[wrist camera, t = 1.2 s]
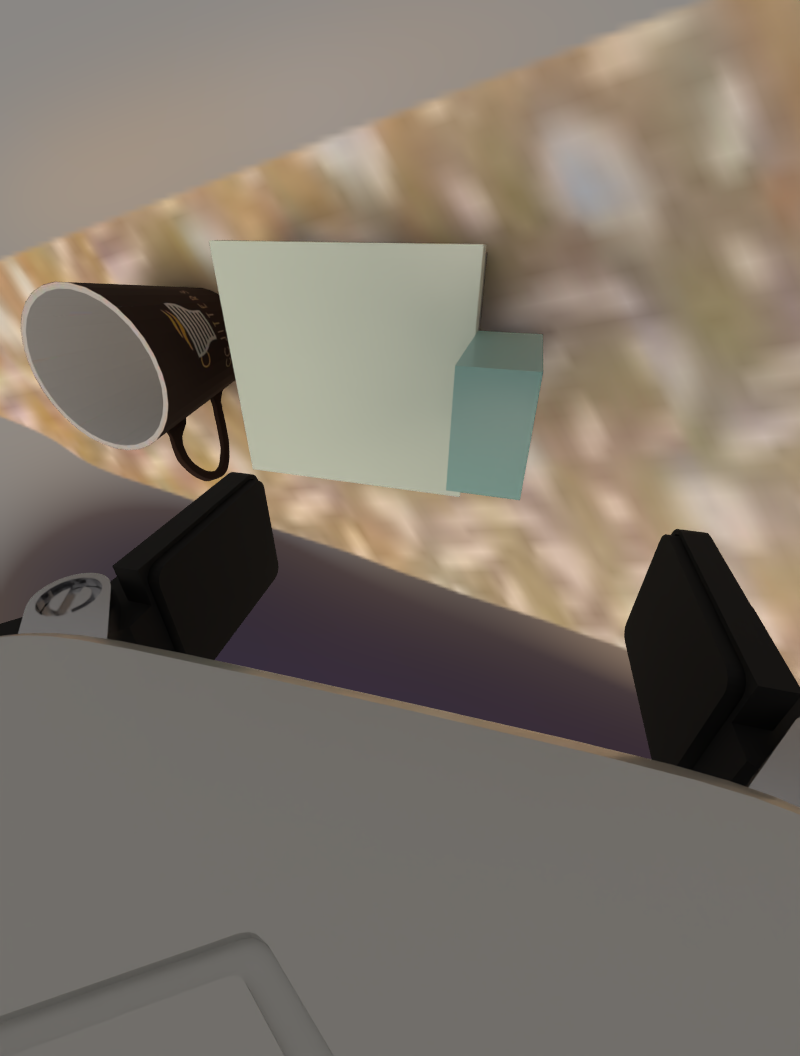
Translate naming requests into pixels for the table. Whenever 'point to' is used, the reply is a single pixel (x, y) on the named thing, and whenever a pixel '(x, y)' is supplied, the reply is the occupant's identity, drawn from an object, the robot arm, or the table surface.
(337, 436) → the board with teal handle
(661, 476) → the table surface
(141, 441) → the coffee mug
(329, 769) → the robot arm
